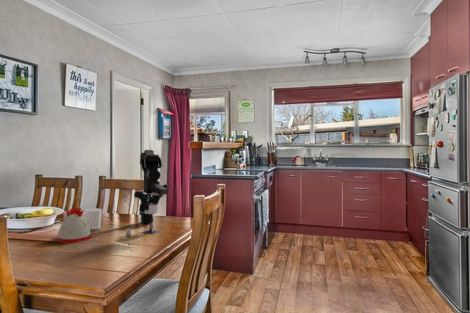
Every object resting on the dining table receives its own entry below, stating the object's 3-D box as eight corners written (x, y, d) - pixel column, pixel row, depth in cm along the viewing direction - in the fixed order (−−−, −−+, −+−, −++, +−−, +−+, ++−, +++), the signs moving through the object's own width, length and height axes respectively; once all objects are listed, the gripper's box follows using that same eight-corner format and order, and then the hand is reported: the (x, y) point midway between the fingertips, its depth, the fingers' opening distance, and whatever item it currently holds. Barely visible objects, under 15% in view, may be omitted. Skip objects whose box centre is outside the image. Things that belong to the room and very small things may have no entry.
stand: (140, 234, 153) (141, 223, 153) (150, 231, 159) (150, 221, 159) (151, 236, 150) (151, 225, 150) (160, 233, 156) (161, 222, 156)
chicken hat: (76, 244, 135) (77, 210, 134) (50, 241, 137) (51, 208, 137) (96, 235, 148) (97, 205, 148) (72, 233, 151) (73, 203, 151)
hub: (117, 239, 143) (117, 229, 143) (128, 236, 149) (128, 226, 149) (128, 242, 140) (128, 231, 140) (139, 238, 146) (139, 228, 146)
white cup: (97, 230, 158) (97, 211, 158) (82, 229, 158) (82, 210, 158) (103, 226, 166) (104, 208, 165) (89, 226, 166) (90, 208, 166)
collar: (142, 213, 152) (142, 204, 152) (150, 211, 158) (150, 202, 158) (151, 214, 150) (151, 205, 150) (159, 212, 155) (159, 203, 155)
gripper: (151, 181, 142) (150, 214, 142) (175, 179, 159) (174, 208, 159) (133, 180, 146) (132, 212, 147) (159, 177, 163) (158, 206, 164)
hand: (150, 209), depth 154 cm, fingers closed on collar, 6 cm apart
